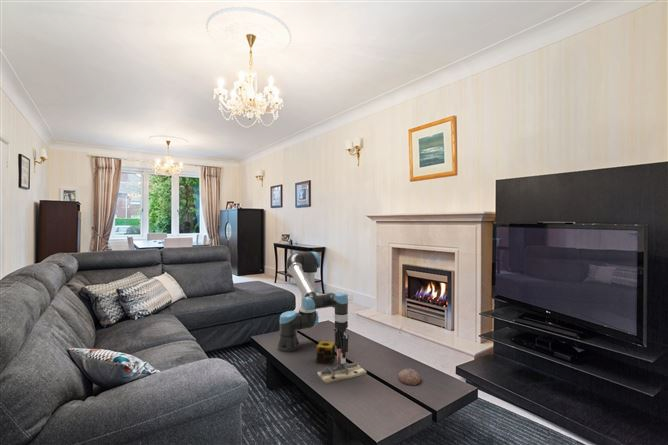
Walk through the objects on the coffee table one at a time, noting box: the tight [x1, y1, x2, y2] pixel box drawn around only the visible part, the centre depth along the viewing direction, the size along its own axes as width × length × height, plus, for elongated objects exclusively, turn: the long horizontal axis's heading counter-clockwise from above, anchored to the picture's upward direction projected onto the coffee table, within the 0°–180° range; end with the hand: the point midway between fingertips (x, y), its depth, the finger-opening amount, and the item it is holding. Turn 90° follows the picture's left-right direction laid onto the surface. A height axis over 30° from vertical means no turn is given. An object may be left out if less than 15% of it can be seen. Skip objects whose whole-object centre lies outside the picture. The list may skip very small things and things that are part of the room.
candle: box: [315, 340, 336, 365], centre depth 199 cm, size 10×10×10 cm
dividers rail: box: [320, 362, 359, 378], centre depth 181 cm, size 9×23×3 cm, turn 117°
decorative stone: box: [397, 368, 422, 386], centre depth 174 cm, size 12×12×6 cm
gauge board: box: [317, 364, 368, 385], centre depth 181 cm, size 12×25×1 cm, turn 117°
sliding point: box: [336, 348, 349, 374], centre depth 182 cm, size 10×4×11 cm, turn 27°
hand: (341, 361), depth 185 cm, fingers closed on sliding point, 4 cm apart
